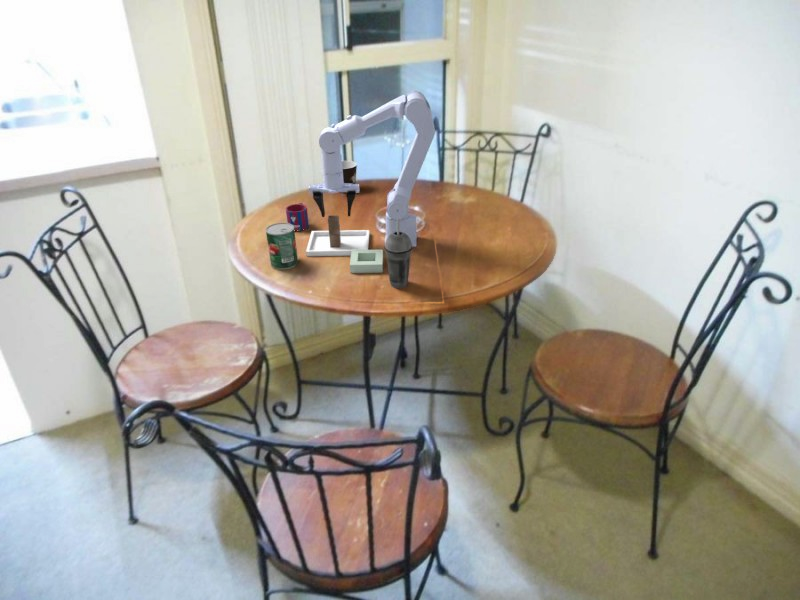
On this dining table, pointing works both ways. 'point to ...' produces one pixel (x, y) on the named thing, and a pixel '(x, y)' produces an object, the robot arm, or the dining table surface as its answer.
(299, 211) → the cup
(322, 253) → the tray
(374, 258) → the mint square peg hole
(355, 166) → the coffee mug
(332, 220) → the walnut peg
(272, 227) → the canned tomato
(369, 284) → the dining table surface
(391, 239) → the beverage cup
